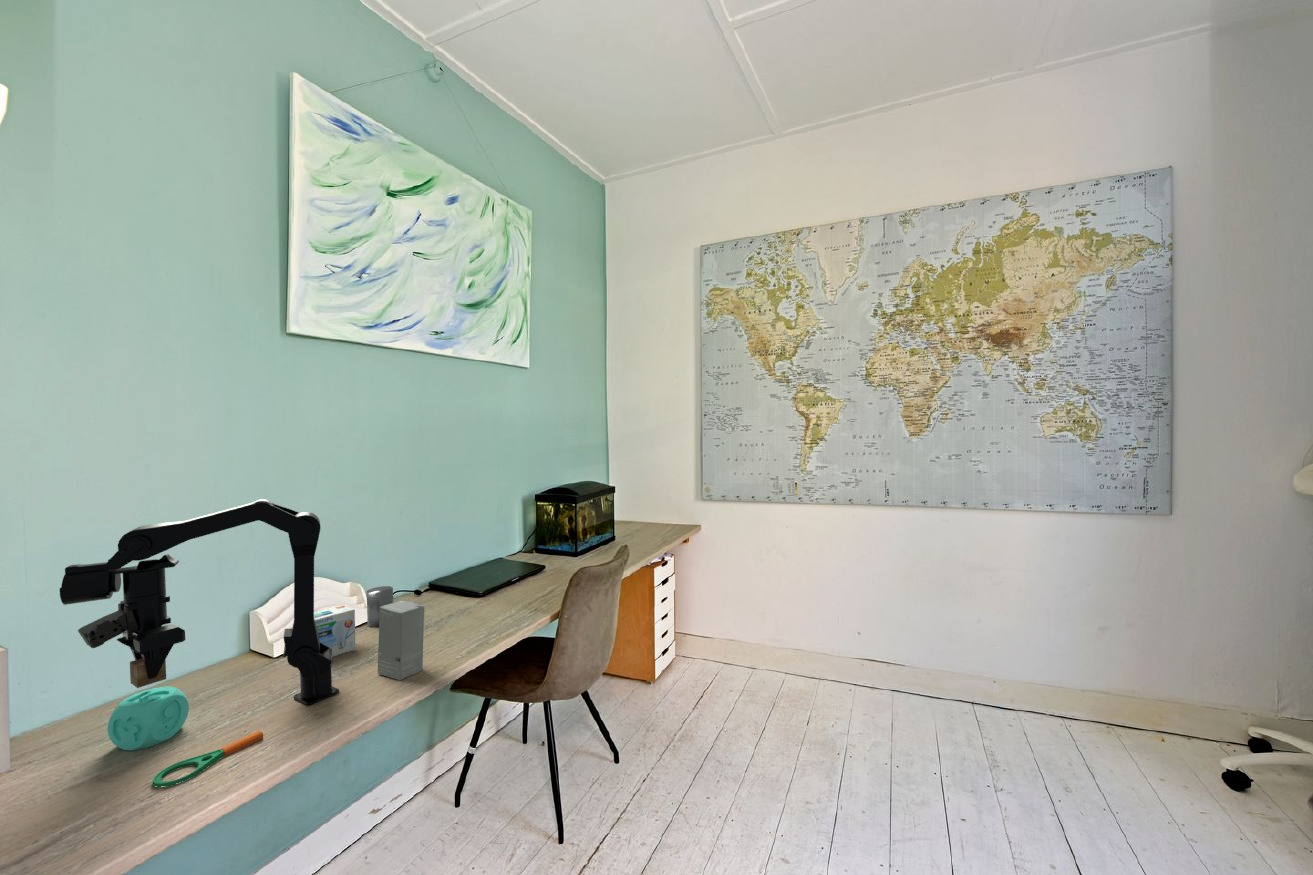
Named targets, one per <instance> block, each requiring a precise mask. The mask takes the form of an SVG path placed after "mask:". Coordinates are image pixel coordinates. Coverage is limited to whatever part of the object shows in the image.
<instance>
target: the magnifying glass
mask: <svg viewBox="0 0 1313 875" xmlns="http://www.w3.org/2000/svg"><path fill="white" fill-rule="evenodd" d="M263 739H264V733H263V731H261V730H258V731H255V732H253V733H252V734H249V735H247V736H245V737H243V738H241V739H239V740H237V741H234V742H232V743H231V744H227V745H226V746H224V747H221V748H219V749H216V750H214V751H210V752H207V753H203V754H200V755H197V756H193V757H189V758H186V759H184V760H181V761H178V762H175V763H173V764H170V765H169V766H167V767H165V768H164V769H162V770H160V771H159V772H158V773H157V774H156V775H154V777H153V778H152V786H153V787H154V786H157V787H161V786H170V787H172V786H171V785H174V786H176V785H175V784H176V783H179V782H182V781H185V780H187V779H189V778H191V777H193V776H195V777H196V776H198V775H199V774H201V773H202V772H204V771H205V770H207V769H208V768H209V767H211V766H212V765H214V764H216V762H218V761H219V760H221V759H223V758H224V756H225V757H227V756H229V755H232V754H234V753H236V752H238V751H240V750H242V749H245V748H246V747H249V746H251V745H253V744H255V743H257V742H259V741H261V740H263ZM248 745H249V746H248ZM222 757H223V758H222ZM220 758H221V759H220ZM190 766H195V767H196V768H195V769H194V770H193V771H192V772H190V773H188V774H186V775H185V776H182V777H179V778H175V779H172V780H162V779H163V778H164V777H165V776H167V775H169V774H170V773H173V771H176V770H179V769H182V768H185V767H190ZM208 766H209V767H208ZM181 767H182V768H181ZM207 767H208V768H207ZM178 768H179V769H178ZM206 768H207V769H206ZM204 769H205V770H204ZM203 770H204V771H203ZM200 772H201V773H200ZM197 774H198V775H197ZM161 778H162V779H161ZM193 778H194V777H193ZM191 779H192V778H191ZM189 780H190V779H189ZM187 781H188V780H187ZM185 782H186V781H185ZM182 783H183V782H182Z"/></svg>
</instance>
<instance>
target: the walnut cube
mask: <svg viewBox="0 0 1313 875" xmlns="http://www.w3.org/2000/svg"><path fill="white" fill-rule="evenodd" d="M166 659H167V658H166ZM166 659H165V661H164V663H163V665H162V667H161V669H160V671H159V673H158V675H157V677H155V678H152V679H148V676H147V673H146V670H145V666H144V663H143V659H138V660H135V659H134V660H132V661H129V673H130V674H129V676H130V677H129V678H130V684H132V685H133V686H134V687H135V688H137V689H139V688H142V687H146V686H149V685H152V684H155V683H159V682H162V681H164V680H167V665H166V662H167V660H166Z"/></svg>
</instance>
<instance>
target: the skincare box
mask: <svg viewBox="0 0 1313 875" xmlns="http://www.w3.org/2000/svg"><path fill="white" fill-rule="evenodd" d="M424 626H425V605H422V604H418V603H416V602H411V601H406V600H399V601H396V602H393V603H392V604H388V605H384V606H382V607H380V618H379V627H378V645H377V646H378V648H377V649H378V652H377V675H382V676H384V677H388V678H391V679H395V680H397V681H402V680H404V679H406V678H408V677H410V676H413V675H415V674H417V673H419V672H421V671H423V665H424V664H423V662H424V660H423V659H424V658H423V657H424V630H425V629H424V628H425V627H424Z"/></svg>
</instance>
